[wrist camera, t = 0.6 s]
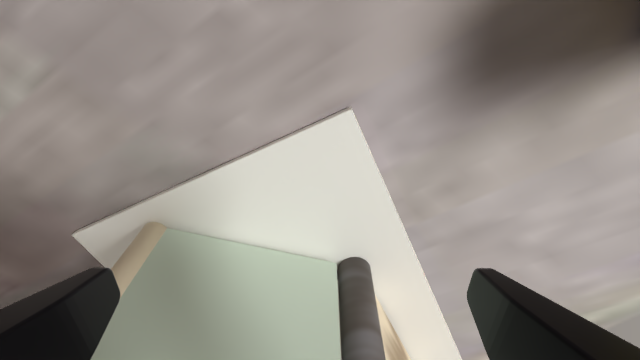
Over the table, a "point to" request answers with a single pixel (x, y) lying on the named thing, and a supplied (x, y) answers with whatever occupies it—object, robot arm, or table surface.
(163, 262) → the pale green flat panel
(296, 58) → the table surface
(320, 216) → the board
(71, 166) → the table surface
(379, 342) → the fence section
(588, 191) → the table surface
